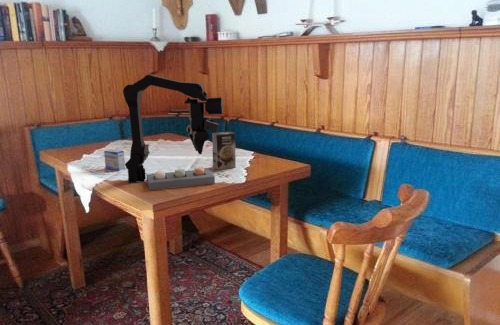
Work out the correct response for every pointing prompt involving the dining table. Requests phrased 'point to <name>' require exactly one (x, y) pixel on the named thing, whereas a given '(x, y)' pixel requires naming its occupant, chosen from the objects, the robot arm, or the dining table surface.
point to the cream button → (159, 175)
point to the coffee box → (223, 150)
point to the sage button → (179, 173)
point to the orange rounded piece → (199, 171)
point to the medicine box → (114, 159)
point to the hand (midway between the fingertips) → (198, 152)
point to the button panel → (180, 180)
